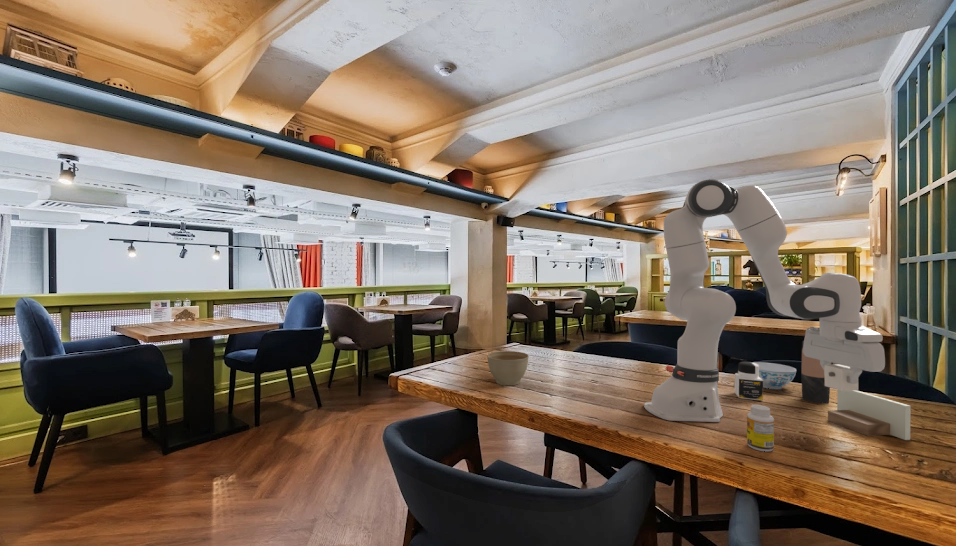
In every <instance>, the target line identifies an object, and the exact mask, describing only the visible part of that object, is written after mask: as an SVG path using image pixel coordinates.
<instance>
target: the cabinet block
mask: <svg viewBox="0 0 956 546" xmlns="http://www.w3.org/2000/svg"><path fill="white" fill-rule="evenodd" d="M824 368H825V386H827V387H830V389H833V390H840V391H852V390H857V391H859V382H858V383H857V384H852V383H848V382H847V376H850V375H851V373H852V372H853V371H850V367H848V366H844V365H840V364H835V363H834V364H830V365H824Z"/></svg>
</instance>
